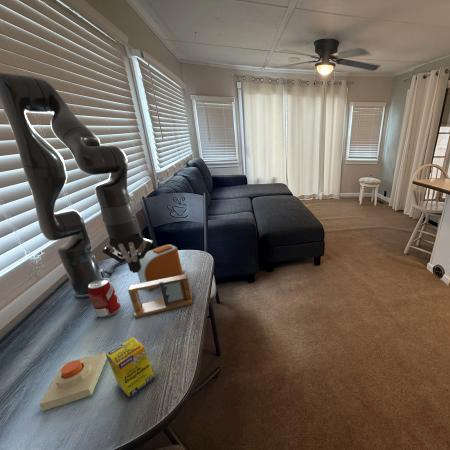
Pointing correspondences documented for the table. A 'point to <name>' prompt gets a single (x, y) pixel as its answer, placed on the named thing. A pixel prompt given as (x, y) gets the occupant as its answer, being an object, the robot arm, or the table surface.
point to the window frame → (159, 304)
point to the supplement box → (130, 366)
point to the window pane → (172, 292)
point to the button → (71, 369)
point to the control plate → (74, 383)
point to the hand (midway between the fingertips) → (136, 271)
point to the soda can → (103, 297)
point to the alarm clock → (160, 264)
